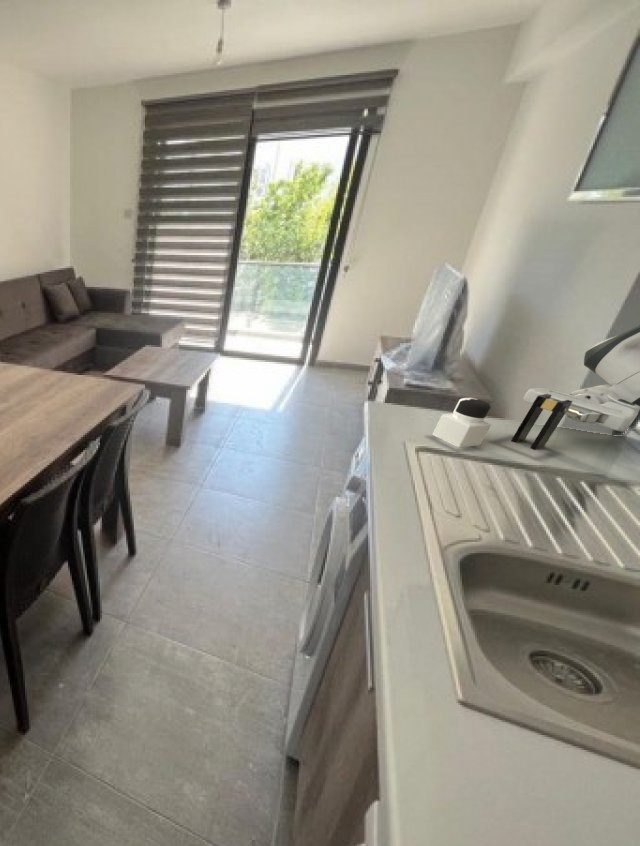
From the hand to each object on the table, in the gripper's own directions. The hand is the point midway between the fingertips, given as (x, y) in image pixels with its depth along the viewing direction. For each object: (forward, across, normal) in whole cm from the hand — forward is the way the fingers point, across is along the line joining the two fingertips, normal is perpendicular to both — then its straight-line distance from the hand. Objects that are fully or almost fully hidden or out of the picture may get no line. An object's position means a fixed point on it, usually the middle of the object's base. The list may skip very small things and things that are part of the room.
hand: (562, 411), depth 120 cm
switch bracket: (+9, 0, +9) cm, 13 cm away
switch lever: (+4, 0, 0) cm, 4 cm away
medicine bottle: (+25, -8, +10) cm, 28 cm away
